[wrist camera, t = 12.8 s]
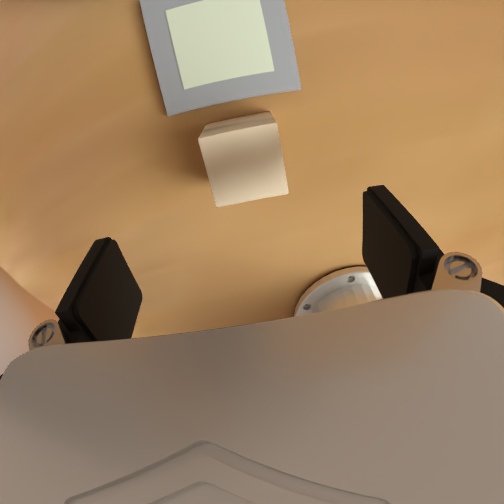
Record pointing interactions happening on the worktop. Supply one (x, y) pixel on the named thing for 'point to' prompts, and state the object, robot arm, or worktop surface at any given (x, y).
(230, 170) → the oak cube
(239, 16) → the grey square plate
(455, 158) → the worktop surface
